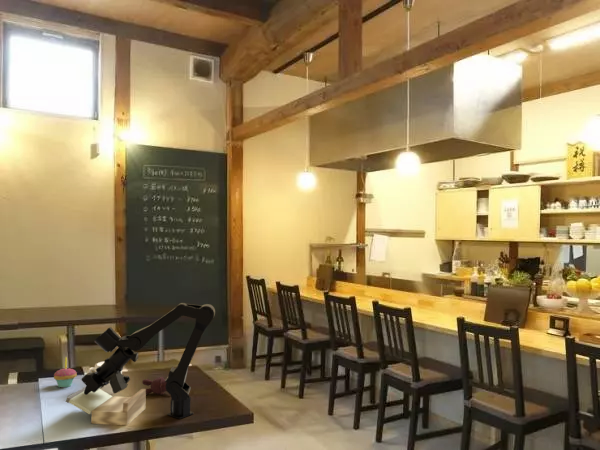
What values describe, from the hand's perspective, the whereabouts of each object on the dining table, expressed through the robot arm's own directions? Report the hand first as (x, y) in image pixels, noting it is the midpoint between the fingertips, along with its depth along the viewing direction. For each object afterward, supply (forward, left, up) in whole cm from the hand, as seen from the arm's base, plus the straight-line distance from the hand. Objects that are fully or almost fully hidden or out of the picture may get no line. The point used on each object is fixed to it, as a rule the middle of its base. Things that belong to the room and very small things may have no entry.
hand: (85, 393), depth 173 cm
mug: (+19, -21, -7) cm, 29 cm away
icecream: (-3, -31, -7) cm, 32 cm away
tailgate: (-5, -3, -3) cm, 7 cm away
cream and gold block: (-10, -6, -7) cm, 14 cm away
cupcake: (+37, -15, -7) cm, 40 cm away
